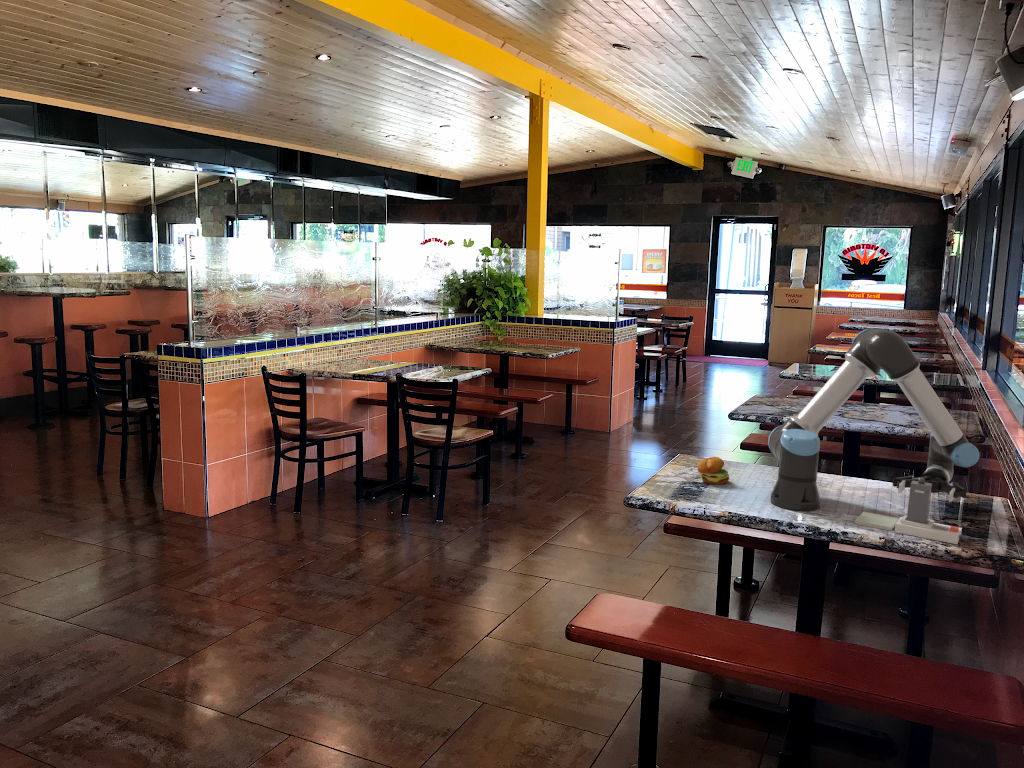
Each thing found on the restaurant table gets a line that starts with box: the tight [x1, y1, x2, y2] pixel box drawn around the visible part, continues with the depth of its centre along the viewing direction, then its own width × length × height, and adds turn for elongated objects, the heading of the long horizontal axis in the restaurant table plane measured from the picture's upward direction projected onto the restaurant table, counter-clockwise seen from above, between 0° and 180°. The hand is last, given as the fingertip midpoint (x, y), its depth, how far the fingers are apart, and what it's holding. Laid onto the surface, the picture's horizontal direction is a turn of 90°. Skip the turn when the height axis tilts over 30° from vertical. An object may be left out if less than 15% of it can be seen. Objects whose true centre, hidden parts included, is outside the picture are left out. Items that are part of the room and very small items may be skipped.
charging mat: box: [854, 511, 900, 531], centre depth 237 cm, size 10×12×1 cm
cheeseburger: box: [696, 456, 730, 485], centre depth 279 cm, size 10×11×10 cm
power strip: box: [894, 514, 969, 545], centre depth 227 cm, size 18×9×4 cm, turn 55°
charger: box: [906, 478, 932, 524], centre depth 228 cm, size 5×4×14 cm
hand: (924, 492), depth 236 cm, fingers open, 13 cm apart
